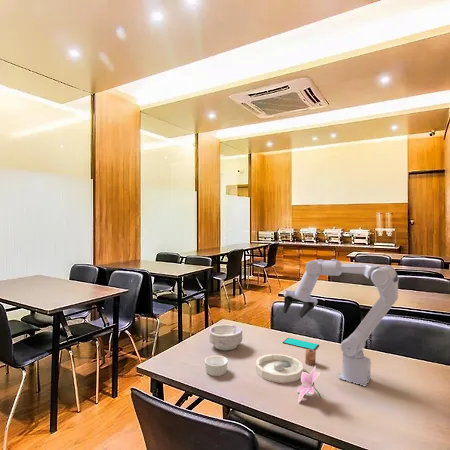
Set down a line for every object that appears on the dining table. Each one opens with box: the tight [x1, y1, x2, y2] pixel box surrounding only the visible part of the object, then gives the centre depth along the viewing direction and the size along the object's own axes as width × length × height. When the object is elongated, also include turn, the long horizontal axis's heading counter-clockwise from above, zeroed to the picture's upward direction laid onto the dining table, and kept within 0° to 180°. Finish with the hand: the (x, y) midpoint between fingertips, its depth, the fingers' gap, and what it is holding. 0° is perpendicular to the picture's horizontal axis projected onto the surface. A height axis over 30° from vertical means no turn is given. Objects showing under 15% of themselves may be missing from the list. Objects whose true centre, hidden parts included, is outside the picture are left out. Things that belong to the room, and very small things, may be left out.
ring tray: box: [255, 353, 304, 384], centre depth 123 cm, size 18×18×3 cm
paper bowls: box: [208, 324, 243, 351], centre depth 145 cm, size 15×15×8 cm
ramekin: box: [204, 355, 229, 377], centre depth 122 cm, size 9×9×4 cm
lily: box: [296, 365, 322, 404], centre depth 105 cm, size 12×12×10 cm
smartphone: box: [282, 337, 320, 351], centre depth 149 cm, size 7×1×15 cm
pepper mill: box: [304, 349, 317, 366], centre depth 130 cm, size 4×4×5 cm
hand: (292, 313), depth 133 cm, fingers open, 7 cm apart
